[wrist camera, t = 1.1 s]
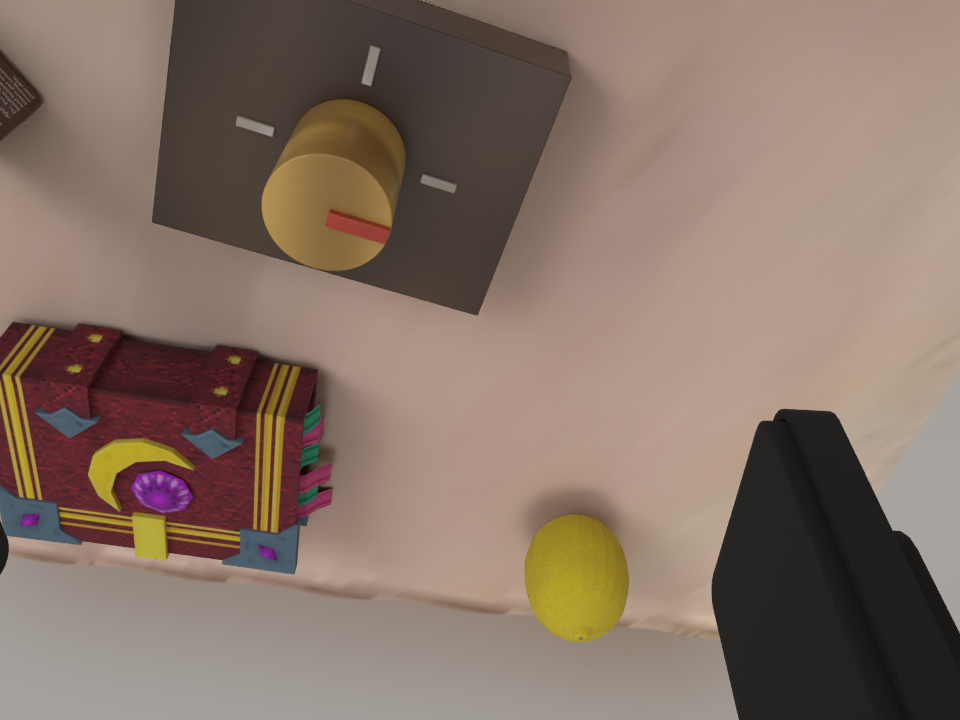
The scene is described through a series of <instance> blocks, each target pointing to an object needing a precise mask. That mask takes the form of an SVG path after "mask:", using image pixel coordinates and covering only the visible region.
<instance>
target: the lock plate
mask: <svg viewBox="0 0 960 720" xmlns="http://www.w3.org/2000/svg"><path fill="white" fill-rule="evenodd" d="M570 81H571V72H570V67H569V61H568V56H567V52H566V51H563V50H560V49H558V48H555V47H552V46H549V45H546V44H543V43H540V42H538V41H535V40H532V39H529V38H526V37H523V36H520V35H517V34H515V33H512V32H509V31H506V30H503V29H500V28H497V27H494V26H492V25H489V24H486V23H483V22H480V21H477V20H474V19H471V18H469V17H466V16H463V15H460V14H457V13H454V12H451V11H448V10H446V9H443V8H440V7H437V6H434V5H431V4H428V3H425V2H423V1H420V0H175V9H174V18H173V28H172V37H171V47H170V56H169V66H168V75H167V84H166V94H165V103H164V113H163V122H162V131H161V141H160V150H159V160H158V169H157V179H156V188H155V197H154V207H153V216H152V222H153V223H156V224H159V225H163V226H166V227H170V228H173V229H177V230H180V231H184V232H187V233H191V234H194V235H198V236H201V237H205V238H208V239H212V240H215V241H219V242H222V243H226V244H229V245H233V246H236V247H240V248H243V249H247V250H250V251H254V252H257V253H261V254H264V255H268V256H271V257H275V258H278V259H281V260H285V261H288V262H292V263H295V264H299V265H302V266H306V267H309V266H307V265H304V264H302V263H300V262H298V261H296V260H295V259H293V258H292V257H290V256H289V255H288V254H286V253H285V252H284V251H283V250H282V249H281V248H280V247H279V246H278V245H277V244H276V242H275V241H274V240H273V238H272V237H271V235H270V234H269V232H268V230H267V228H266V225H265V222H264V219H263V214H262V195H263V191H264V188H265V185H266V183H267V181H268V179H269V177H270V175H271V173H272V171H273V169H274V168H275V166H276V164H277V162H278V160H279V158H280V156H281V154H282V152H283V150H284V148H285V146H286V144H287V143H288V141H289V139H290V137H291V135H292V133H293V131H294V129H295V127H296V125H297V124H298V122H299V120H300V119H301V118H302V117H303V116H304V114H305V113H307V112H308V111H309V110H310V109H312V108H313V107H315V106H316V105H319V104H321V103H323V102H327V101H330V100H337V99H348V100H355V101H359V102H363V103H365V104H368V105H370V106H372V107H374V108H375V109H377V110H379V111H380V112H381V113H383V114H384V115H385V116H386V117H387V118H388V119H389V120H390V121H391V122H392V123H393V124H394V126H395V127H396V129H397V130H398V132H399V134H400V136H401V138H402V141H403V144H404V148H405V153H406V164H405V170H404V175H403V179H402V183H401V188H400V192H399V197H398V201H397V205H396V210H395V214H394V219H393V223H392V228H391V232H390V235H389V238H388V240H387V242H386V244H385V246H384V247H383V248H382V250H381V251H380V252H379V253H378V254H377V255H376V256H375V257H374V258H373V259H371V260H370V261H368V262H367V263H365V264H363V265H361V266H358V267H356V268H353V269H348V270H342V271H327V270H320V269H316V268H313V269H316V270H320V271H323V272H327V273H330V274H334V275H337V276H341V277H344V278H348V279H351V280H355V281H358V282H362V283H365V284H369V285H372V286H376V287H379V288H383V289H386V290H390V291H393V292H397V293H400V294H404V295H407V296H410V297H414V298H417V299H421V300H424V301H428V302H431V303H435V304H438V305H442V306H445V307H449V308H452V309H456V310H459V311H463V312H466V313H470V314H473V315H478V313H479V311H480V308H481V306H482V303H483V301H484V298H485V296H486V293H487V291H488V288H489V286H490V283H491V280H492V278H493V275H494V273H495V270H496V268H497V265H498V263H499V260H500V258H501V255H502V253H503V250H504V248H505V245H506V242H507V240H508V237H509V235H510V232H511V230H512V227H513V225H514V222H515V220H516V217H517V215H518V212H519V210H520V207H521V205H522V202H523V199H524V197H525V194H526V192H527V189H528V187H529V184H530V182H531V179H532V177H533V174H534V172H535V169H536V167H537V164H538V162H539V159H540V156H541V154H542V151H543V149H544V146H545V144H546V141H547V139H548V136H549V134H550V131H551V129H552V126H553V124H554V121H555V118H556V116H557V113H558V111H559V108H560V106H561V103H562V101H563V98H564V96H565V93H566V91H567V88H568V86H569V83H570ZM309 268H312V267H309Z"/></svg>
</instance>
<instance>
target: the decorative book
mask: <svg viewBox="0 0 960 720" xmlns="http://www.w3.org/2000/svg"><path fill="white" fill-rule="evenodd" d="M317 371H318V370H317V369H310V368H304V367H297V366H291V365H285V364H278V363H272V362H266V361H259V360H258V352H255V351H249V350H242V349H236V348H230V347H223V346H217V345H216V347H215V349H214V351H213V353H208V352H202V351H195V350H189V349H182V348H176V347H170V346H163V345H157V344H151V343H144V342H138V341H131V340H125V339H123V335H122V330H115V329H109V328H103V327H96V326H90V325H84V324H78V326H77V327H76V328H75V330H74V331H68V330H61V329H55V328H48V327H42V326H36V325H29V324H23V323H16V322H13V323H12V324H11V325H10V326H9V327H8V329H7V330H6V331H5V332H4V334H3V335H2V336H1V337H0V515H1V519H2V524H3V529H4V531H5V534H6V536H13V537H21V538H29V539H37V540H45V541H53V542H61V543H69V544H76V545H81V544H82V542H83V541H86V542H93V543H100V544H108V545H115V546H122V547H130V548H135V553H136V556H137V557H144V558H151V559H159V560H167V558H168V555H169V553H174V554H181V555H189V556H196V557H203V558H211V559H218V560H223V561H222V564H224V565H231V566H238V567H245V568H252V569H259V570H266V571H273V572H280V573H287V574H295V570H296V566H297V557H298V544H299V530H300V525H302V526H307V522H308V517H309V514H311V513H312V512H314V511H315V510H317V509H319V508H322V507H325V506H328V505H330V504H331V497H332V488H331V489H328V490H325V491H323V492H320V493H318V485H319V484H322V483H325V482H328V481H330V477H331V467H332V463H331V464H327V465H324V466H321V467H318V468H317V469H315V470H313V471H311V472H309V466H310V464H311V463H314V462H316V461H318V451H319V443H317V442H319V439H320V437H321V435H322V433H323V423H324V415H323V417H322V419H321V421H320V410H321V404H319V405H318V406H317V407H316V408H314V407H315V395H316V383H317ZM319 421H320V422H319ZM314 443H316V444H314ZM311 444H313V445H311ZM317 493H318V494H317Z"/></svg>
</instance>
